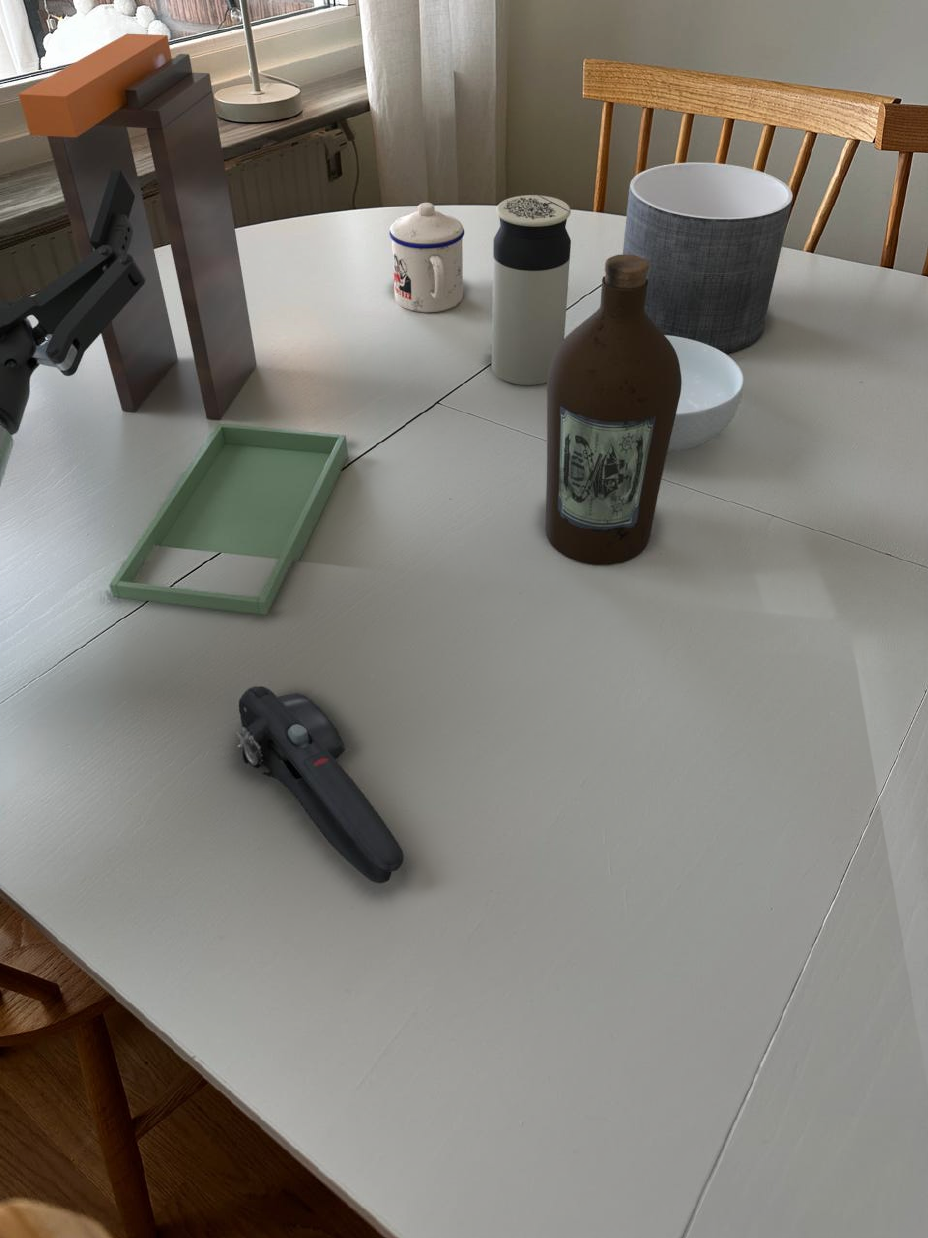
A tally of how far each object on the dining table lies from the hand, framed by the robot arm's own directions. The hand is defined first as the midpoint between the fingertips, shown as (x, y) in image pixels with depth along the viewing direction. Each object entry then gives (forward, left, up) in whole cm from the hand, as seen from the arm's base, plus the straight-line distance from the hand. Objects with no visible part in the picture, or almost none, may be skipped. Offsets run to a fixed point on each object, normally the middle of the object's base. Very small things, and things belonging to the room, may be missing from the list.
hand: (42, 177), depth 77 cm
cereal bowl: (+50, +16, -28) cm, 59 cm away
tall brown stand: (0, +17, -28) cm, 33 cm away
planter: (+54, +42, -28) cm, 74 cm away
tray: (+14, -6, -28) cm, 32 cm away
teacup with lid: (+22, +42, -28) cm, 55 cm away
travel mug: (+36, +27, -28) cm, 53 cm away
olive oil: (+46, -2, -28) cm, 54 cm away
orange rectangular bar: (0, +13, +2) cm, 13 cm away
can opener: (+30, -35, -28) cm, 54 cm away
